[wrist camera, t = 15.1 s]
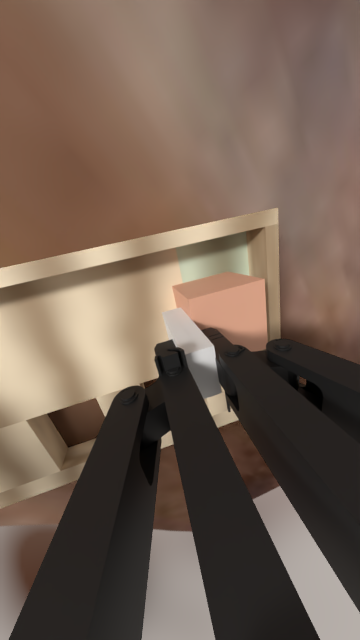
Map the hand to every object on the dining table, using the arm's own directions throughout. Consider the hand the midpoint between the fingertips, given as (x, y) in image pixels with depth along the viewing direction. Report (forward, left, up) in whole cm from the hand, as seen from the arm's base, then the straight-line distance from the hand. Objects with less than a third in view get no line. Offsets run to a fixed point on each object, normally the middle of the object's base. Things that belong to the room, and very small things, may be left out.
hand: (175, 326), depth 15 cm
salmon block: (+3, 0, -2) cm, 4 cm away
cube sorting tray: (-7, -4, -5) cm, 10 cm away
